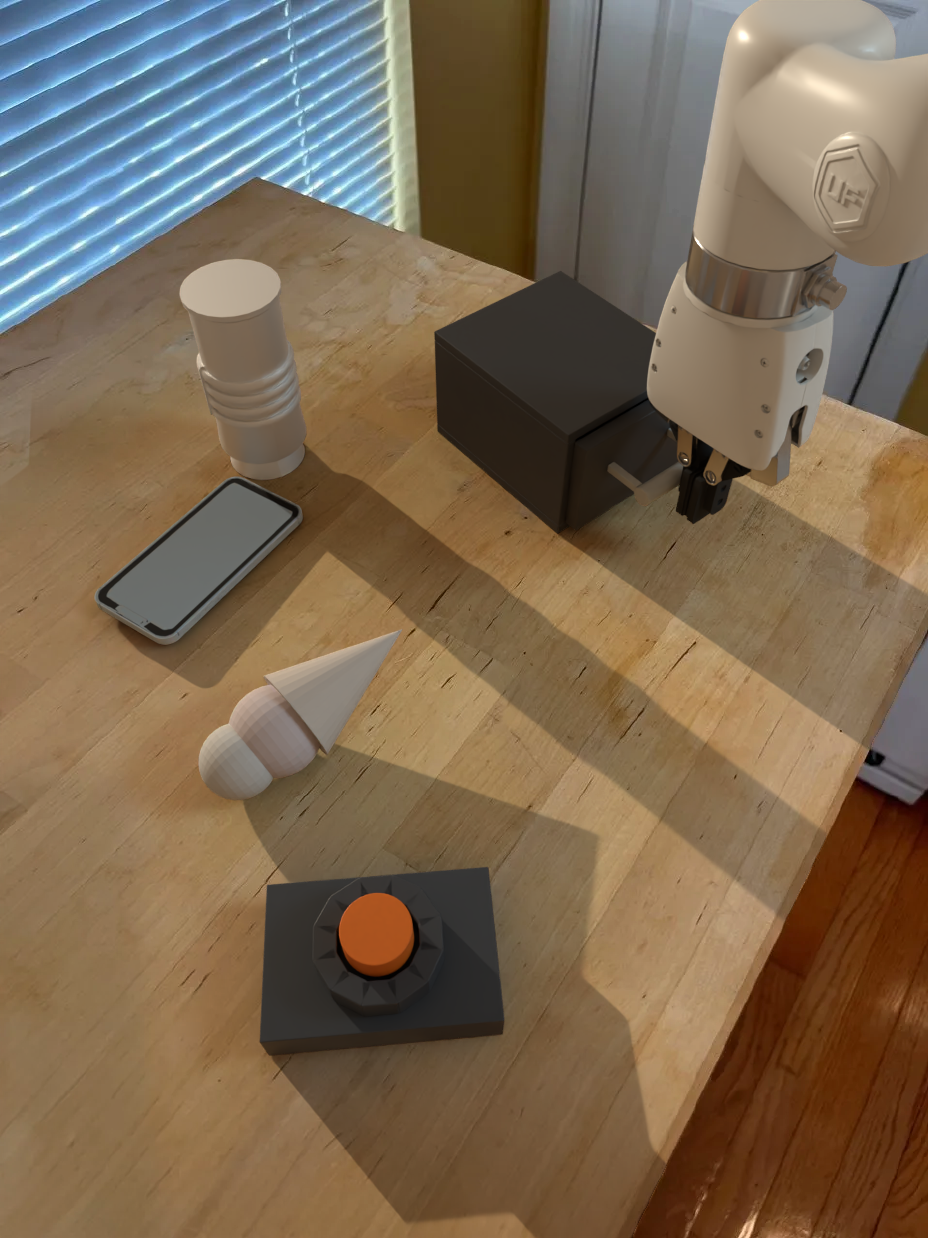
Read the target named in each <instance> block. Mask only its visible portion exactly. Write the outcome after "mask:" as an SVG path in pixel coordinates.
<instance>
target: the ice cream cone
mask: <svg viewBox="0 0 928 1238" xmlns="http://www.w3.org/2000/svg"><path fill="white" fill-rule="evenodd" d="M403 630H404V629H403V628H401V629H398V630H396V631H393V632H389V633H386V634H383V635H380V636H378V637H375V638H371V639H368V640H366V641H363V642H359V643H357V644H354V645H351V646H348V647H345V648H342V649H339V650H336V651H333V652H330V653H327V654H324V655H321V656H318V657H315V658H312V659H309V660H306V661H303V662H300V663H296V664H295V665H291V666H288V667H286V668H285V667H284V668H282V669H279V670H276V671H274V672H270V673H268V674H265V675H263V676H262V677H263V679H264V681H265V682H266V684H265V685H262V686H260V687H257V688H254V689H253V690H251V691H250V692H248V693H246V694H245V695H244V696H243V697H242V698H241V699H239V701H238V703H237V704H236V706H234V708H233V711H232V712H231V715H230V717H229V720H228V723H226V724H224V725H221V726H219V727H217V728H216V729H214V730H213V731H212V732H211V733H209V735H208V736H207V737H206V739H205V740H204V741H203V744H202V746H201V748H200V751H199V754H198V771H199V774H200V777H201V780H202V781H203V783H204V785H205V786H206V787H207V788H208V790H210V791H211V792H212V793H213V794H215V795H217V796H218V797H220V798H223V799H225V800H230V801H244V800H248V799H251V798H254V797H256V796H259V794H261V793H263V792H264V791H265V790H266V789H267V788H268V787H269V786H270V785H271V783H272V781H273V780H274V779H282V778H287V777H291V776H293V775H295V774H297V773H298V774H299V772H301V771H302V770H304V769H305V768H307V766H308V765H309V764H310V763H312V762H313V760H314V758H315V757H316V756H317V754H318V753H319V750H321V751H322V752H323V753H324V754H325V755H328V754H329V753H330V751H331V750H332V748H333V746H334V745H335V743H336V741H337V740H338V738H339V736H340V734H341V733H342V732H343V729H344V728H345V726H346V724H347V723H348V721H349V719H350V718H351V716H352V715H353V712H354V711H355V710H356V708H357V706H358V705H359V703H360V701H361V699H362V698H363V696H364V695H365V693H366V691H367V689H368V688H369V686H370V684H371V683H372V681H373V680H374V678H375V677H376V674H377V673H378V672H379V669H380V668H381V666H382V664H383V663H384V662H385V659H386V658H387V656H388V654H389V653H390V651H391V650H392V649H393V646H394V644H395V643H396V641H397V640H398V638H399V636H400V635H401V633H402V631H403Z"/></svg>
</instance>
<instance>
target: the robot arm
mask: <svg viewBox="0 0 928 1238" xmlns="http://www.w3.org/2000/svg"><path fill="white" fill-rule="evenodd" d="M896 38H897V37H896V32H895V28H894V25H893V23H892V22H891V20H890V19H889V17H888V16H887V15H886V14H885V12H883V11H882V10H881V9H880V8H879V7H876V5H874V4H871V3H869V2H866V1H864V0H756V1H754V3H752V4H750V5H749V6H748V7H746V8H745V9H744V10H743V11H742V12H741V13H740V14H739V15H738V17H737V18H736V20H735V21H734V22H733V24H732V26H731V28H730V29H729V32H728V34H727V37H726V41H725V47H724V51H723V55H722V60H721V66H720V72H719V78H718V82H717V83H718V84H717V88H716V95H715V101H714V106H713V111H712V112H713V113H712V116H711V117H712V118H711V123H710V129H709V133H708V134H709V135H708V140H707V147H706V153H705V158H704V162H703V169H702V173H701V174H702V175H701V181H700V186H699V190H698V191H699V192H698V197H697V202H696V210H695V214H694V222H693V226H692V231H691V235H690V241H689V242H690V243H689V247H688V254H687V258H686V259H687V260H686V261H685V262H683V264H682V265H680V267H679V269H678V270H677V273H676V275H675V277H674V279H673V282H672V284H671V286H670V289H669V291H668V294H667V296H666V299H665V302H664V305H663V308H662V311H661V314H660V317H659V320H658V325H657V328H656V332H655V333H656V336H655V340H654V344H653V348H652V353H651V358H650V363H649V369H648V378H647V394H648V398H649V400H650V405H651V407H652V408H653V409H654V410H655V411H656V412H657V413H658V414H659V415H660V416H661V417H662V418H663V419H664V420H665V421H666V422H667V423H668V422H669V425H670V428H671V430H672V433H673V435H674V437H675V439H676V441H677V459H678V461H679V463H680V464H681V465H682V466H683V470H682V475H681V479H680V484H679V485H678V492H679V493H678V496H677V502H676V507H675V512H676V513H677V514H678V515H680V516H682V517H683V516H685V517H686V520H687V521H688V522H689V523H691V524H692V525H695V524H697V523H698V522H699V521H701V520H703V519H704V518H705V517H707V516H709V515H711V516H714V515H716V514H718V513H719V512H720V511H721V510H723V508H724V507H725V506H726V504H727V501H728V498H729V494H730V490H731V487H732V483H733V480H735V479H737V478H742V477H744V476H748V477H750V479H751V480H754V481H756V482H758V483H761V484H763V485H766V486H769V487H775V486H777V485H779V484H780V483H781V482H783V481H784V480H786V479H787V478H789V475H790V470H791V469H790V468H791V467H790V466H791V450H792V445H793V446H795V447H796V448H798V449H800V448H801V447H802V446H803V445H804V444H806V443H807V442H808V441H809V439H810V437H811V435H812V432H813V430H814V426H815V423H816V419H817V416H818V413H819V409H820V405H821V401H822V398H823V393H824V389H825V384H826V379H827V374H828V369H829V364H830V359H831V352H832V344H833V333H834V318H835V317H834V312H835V311H834V310H836V309H837V308H838V307H839V306H840V305H841V303H842V302H843V301H844V300H845V297H846V295H847V293H848V292H847V291H848V287H847V285H845V284H843V283H842V282H839V281H838V280H837V277H836V276H834V275H833V273H834V269H835V266H836V263H837V259H838V257H839V255H840V256H842V257H845V258H846V259H848V260H850V261H853V262H855V263H858V264H861V265H865V266H869V267H891V266H896V265H902V264H906V263H909V262H911V261H913V260H916V259H919V258H921V257H923V256H926V255H928V53H923V54H918V55H911V56H905V57H900V58H899V57H898V58H896V50H897V39H896ZM836 253H838V254H839V255H838V254H836Z"/></svg>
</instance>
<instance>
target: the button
mask: <svg viewBox="0 0 928 1238" xmlns="http://www.w3.org/2000/svg"><path fill="white" fill-rule="evenodd" d="M339 938H340V942H341V945H342V948H343V951H344V954H345V957H346V959H347V961H348V962H349V964H350V965H351V966H352V967H353V968H354V969H355V970H357V971H358V972H360V973H362V974H364V975H368V976H374V977H378V976H385V975H388V974H391V973H393V972H395V971H396V970H398V969H399V968H401V967H402V966H403V965H404V964H405V962H406V961H407V960H408V958H409V956H410V954H411V952H412V949H413V945H414V932H413V924H412V919H411V915H410V913H409V911H408V909H407V908H406V906H405V905H404V904H403V903H402V902H401V901H400V900H398V899H397V898H395V897H393V896H391V895H388V894H384V893H372V894H368V895H364V896H362V897H360V898H358V899H357V900H355V901H354V902H353V903H352V904H351V905H349V907H348V908H347V909H346V911H345V912H344V914H343V916H342V918H341V921H340V926H339Z"/></svg>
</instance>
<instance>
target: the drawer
mask: <svg viewBox="0 0 928 1238" xmlns="http://www.w3.org/2000/svg"><path fill="white" fill-rule="evenodd" d="M682 470H683V466H682V465H681V464H680V463H679V461H678V459H677V441H676V439H675V437H674V435H673V433H672V430H671V428H670V425H669V422H668V423H667V422H666V421H665V420H664V419H663V418H662V417H661V416H660V415H659V414H658V413H657V412H656V411H655V410H654V409H653V408H652V407H651V405H650V400H649V398H646V399H645V400H643V401H641V402H639V403H638V404H636V405H634V406H632V407H631V408H629V409H627V410H626V411H624V412H622V413H620V414H619V415H617V416H615V417H613V418H612V419H610V420H608V421H607V422H605V423H603V424H601V425H600V426H598V427H596V428H594V429H593V430H591V431H589V432H588V433H586V434H584V435H582V436H581V437H579V438H577V439H576V442H575V444H574V453H573V461H572V469H571V477H570V485H569V494H568V502H567V510H566V518H565V522H566V523H567V524H568V525H569V527H571V528H572V529H573V530H574V531H578V530H579V529H581V528H582V527H584V526H586V525H587V524H589V523H591V522H592V521H593V520H595V519H597V518H599V517H600V516H601V515H603V514H605V513H606V512H608V511H609V510H611V509H613V508H614V507H616V506H617V505H619V504H621V503H622V502H624V501H626V499H629V498H630V497H632V496H633V497H634V499H635V501H636V502H637V504H639V505H640V506H642V507H647V506H649V505H650V504H652V503H653V502H656V501H657V500H658V499H659V498H661V497H662V496H665V495H666V494H668V493H669V492H671V491H672V490H674V489H675V488H677V487H679V484H680V479H681V475H682Z"/></svg>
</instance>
